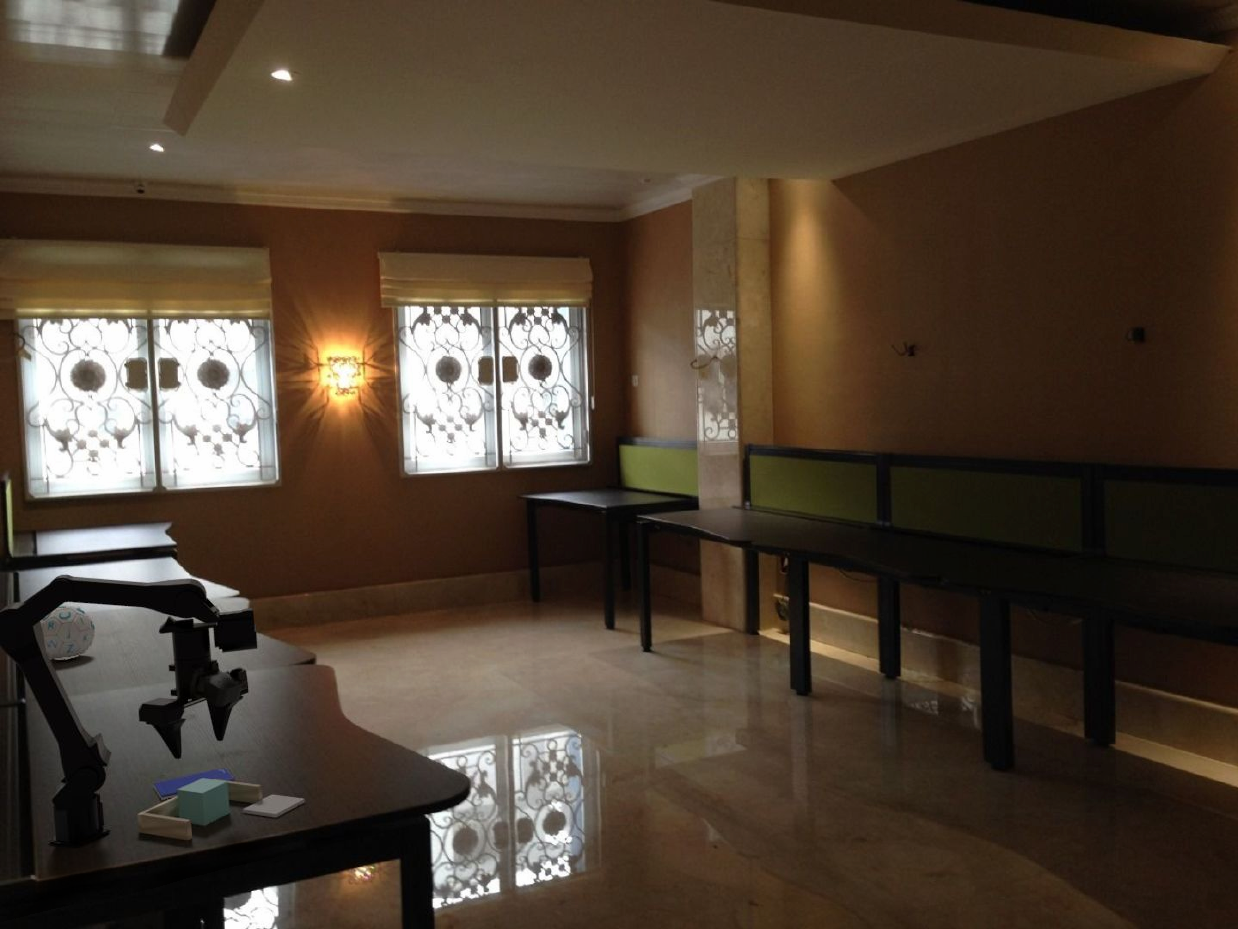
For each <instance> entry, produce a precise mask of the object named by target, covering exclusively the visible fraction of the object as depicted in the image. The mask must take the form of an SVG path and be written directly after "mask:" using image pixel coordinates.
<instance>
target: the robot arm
mask: <svg viewBox="0 0 1238 929" xmlns="http://www.w3.org/2000/svg"><path fill="white" fill-rule="evenodd" d="M64 603H74V604H75V603H78V604H91V605H92V604H93V605H101V606H102V605H107V606H116V607H117V606H119V607H132V608H144V609H148V610H152V611H154V612H158V613H160V614H164V615H167V618H166V620H165V621H164V623H162V625H160V626H159V629H158V633H159V634H161V635H162V634H169V633H170V634H171V641H172V652H173V654H172V655H173V663H170V664H168V672H174V680H175V687H174V688H171V689H170V697H176V698H167V697H156V698H153V699H151V700H148V701H146V702H143V703H141V705H140V706H139V707H138V721H139V722H144V723H145V724H146V725H149V726H150V725H151V726H152V727H153V728H154V730H155V731H156V733H157V734H158V735H159V736H160V738H161V739H162V740H163V742H164V744H165V745H166V747H167V748H168V751H170V753H171V755H172V756H173V758H174V759H175V760H180V759H181V758H182V753H183V751H182V750H183V749H182V730H181V729H182V727H183V725H184V724H185V722H186V720H187V719H186V718H183V716H184V714H185V709H186V708H188V707H192V706H194V705H197V704H200V703H202V702H205V701H206V704H207V709H208V712H209V718H210V721H211V725H212V730H213V734H214V736H215V739H216V741H218V742H222V741H224V739H225V735H226V731H227V727H228V724H229V720H230V717H231V713H232V710H233V708H234V707H235V706H236V705H237V704H238V703H239V702H240V701H242V700H243V699H244V697H245V696H244V695H246V694H249V682H248V674H247V670H246V669H245V668H243V667H241V666H239V667H236V668H233V669H231V670H230V671H229V670H226V671H221V670H220V665H219V662H218V659H212V651H211V636H210V629H212V631H213V642H214V648H215V649H216V648H218V650H221V653H222V654H224V653H232V652H240V651H250V650H258V637H257V636H258V635H257V626H256V624H255V615H254V609H253V608H252V607H250V608H243V609H240V610H231V611H223V612H221V611H220V610H219V608H218V607H217V606H216V605H215V604H213V602H212V601H211V600H210V599H209V598H208V596H207V589H206V587H205V586H204V585H203V583H202V582H201V581H199V580H198V579H194V578H179V579H178V578H175V579H167V580H160V581H159V580H158V581H153V582H144V581H132V580H122V579H121V580H119V579H118V580H117V579H108V578H107V579H106V578H95V577H84V576H83V577H82V576H73V575H69V574H60V575H57V576H56V577H55V578H54V579H52V580H51V581H50V583H48V584H47V585H45V586H44V587H43V588H41V589H40V590H39V591H37V592H36V593H34V594H33V595H32V596H30V597H29V598H27V599H25V600H24V601H22V602H21V601H19V602H18V601H17V602H12V603H10V604H8V605H7V606H4V607H3V608H2V609H1V610H0V648H1V649H2V651H3V652H4V653H5V655H7V656H8V657H9V658H10V659H11V660H12V661H13V662H14V663H15V664H16V665H17V666H18V667H19V668H20V670H21V673H22V674H23V676H24V678H25V680H26V683H27V684H28V686H29V689H30V690H31V693H32V694H33V696H34V698H35V700H36V702H37V704H38V707H39V709H40V711H41V713H42V715H43V716H44V719H45V721H46V723H47V725H48V726H49V728H50V731H51V733H52V735H53V737H54V738H55V741H56V742H57V743H56V744H58V745H57V746H58V750H59V756H60V757H59V758H60V763H61V764H60V765H61V767H62V772H63V777H62V779H61V780H60V781H59V783H58V785H57V786H56V790H55V791H54V794H53V796H52V798H51V802H52V804H53V805H52V808H53V809H52V810H53V820H54V832H55V834H54V836H52V837H50V838H48V841H49V840H50V841H54V842H59V843H61V844H60V845H62V844H65V845H64V846H67V845H70V846H69V847H73V846H78V847H80V846H83V845H85V844H87V843H89V842H91V841H93V840H95V839H97V838H100V837H102V836H104V835H107V834H108V833H110V832H111V828H109V827H104V826H105V817H104V804H103V801H102V800H101V794H100V793H97V791H99V790H100V789H101V788H102V787H103V786H104V784H105V781H106V780H107V776H108V774H109V770H110V766H111V765H110V764H111V762H110V761H111V760H110V759H111V756H112V751H110V750H109V749H108V748H107V746H106V745H105V742H104V737H103V735H102V732H99V733H98V734H96V735H94V736H92V735H91V734H90V733H89V732H88V731H87V730H86V729H85V728H84V726H83V724H82V722H81V720H80V718H79V716H78V714H77V712H76V710H75V708H74V705H73V704H72V702H71V699H70V697H69V695H68V694H67V691H66V690H65V687H64V685H63V684H62V683H63V682H61V680H60V677H59V676H58V673H57V672H56V670H55V668H54V664H53V663H52V661H51V659H50V658H49V657H48V655H47V652H46V648H45V641H44V635H43V630H42V626H41V622H40V621H41V620H42V619H43V618H45V617H46V616H47V615H49V614H50V613H51V612H53V611H54V610H55V609H56V608H58V607H61V606H62V605H63V604H64ZM173 617H175V618H179V619H175V618H173ZM194 619H196V620H198V621H200V622H195V621H194ZM86 842H87V843H86Z"/></svg>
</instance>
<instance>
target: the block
mask: <svg viewBox="0 0 1238 929" xmlns="http://www.w3.org/2000/svg"><path fill="white" fill-rule="evenodd" d="M177 794H178V807H179V815H178V818H182V819H188V820H191V823H192V824H191V825H197V824H198V825H199V826H204V827H205V826H207V825H209V824H211V823H214V822H215V821H217V820H219V819H221V818H223V817H225V816H227V815H228V814H230V800H229V797H228V783H227V781H220V780H213V779H205V778H202V779H199V780H197V781H195V782H193V783H191V784H188V785H186V786H184V787H182V788H180V789H177ZM222 816H223V817H222ZM220 817H221V818H220ZM218 818H219V819H218ZM216 819H217V820H216ZM210 822H211V823H210ZM193 823H194V824H193Z"/></svg>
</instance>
